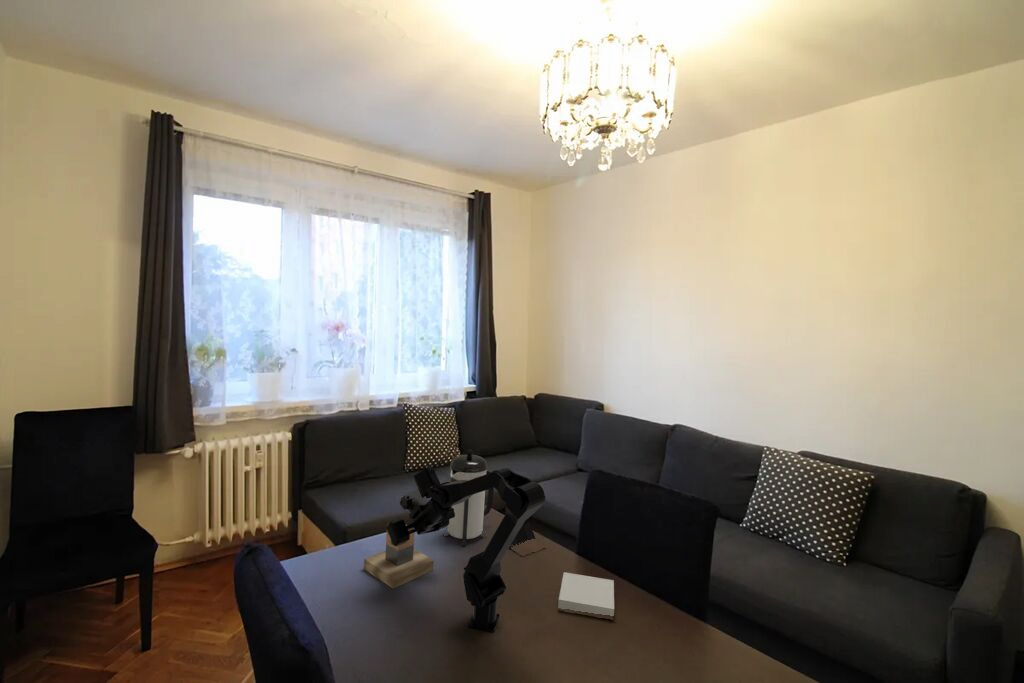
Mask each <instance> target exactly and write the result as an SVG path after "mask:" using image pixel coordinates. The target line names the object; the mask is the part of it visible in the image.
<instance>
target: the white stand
mask: <svg viewBox="0 0 1024 683" xmlns="http://www.w3.org/2000/svg"><path fill="white" fill-rule="evenodd" d="M614 581H615V580H614V579H609V578H602V577H594V576H589V575H583V574H578V573H571V572H565V571H564V572H563V575H562V579H561V585H560V586H561V587H560V590H559V595H558V605H557V609H558V608H561V609H570V610H574V611H581V612H588V613H594V614H602V615H610V616H614V617H615V588H614V587H615V582H614Z"/></svg>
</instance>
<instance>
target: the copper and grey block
mask: <svg viewBox="0 0 1024 683" xmlns="http://www.w3.org/2000/svg"><path fill="white" fill-rule="evenodd" d="M405 525H406V526H407V525H408V524H406V523H405ZM411 530H412V529H411ZM409 531H410V530H409ZM415 533H416V532H415ZM415 533H413V534H410V539H409V540H408V541H407V542H406V543H404V544H401V545H399V546H394V545H392V544H391V542H390V541H391V538H390V536H389V533H388V531H387V530H386V541H385V551H386V555H385V559H386V560H387V561H389V562H391V563H392V564H394V565H396V566H399V565H402V564H404V563H406V562H409V561H411V560H413V552H414V548H415Z"/></svg>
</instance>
